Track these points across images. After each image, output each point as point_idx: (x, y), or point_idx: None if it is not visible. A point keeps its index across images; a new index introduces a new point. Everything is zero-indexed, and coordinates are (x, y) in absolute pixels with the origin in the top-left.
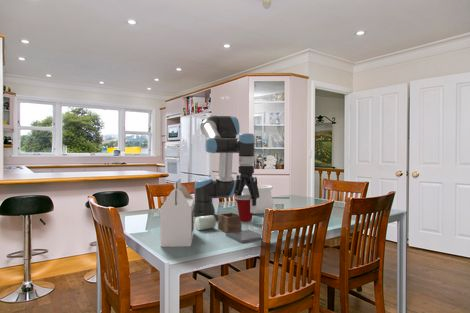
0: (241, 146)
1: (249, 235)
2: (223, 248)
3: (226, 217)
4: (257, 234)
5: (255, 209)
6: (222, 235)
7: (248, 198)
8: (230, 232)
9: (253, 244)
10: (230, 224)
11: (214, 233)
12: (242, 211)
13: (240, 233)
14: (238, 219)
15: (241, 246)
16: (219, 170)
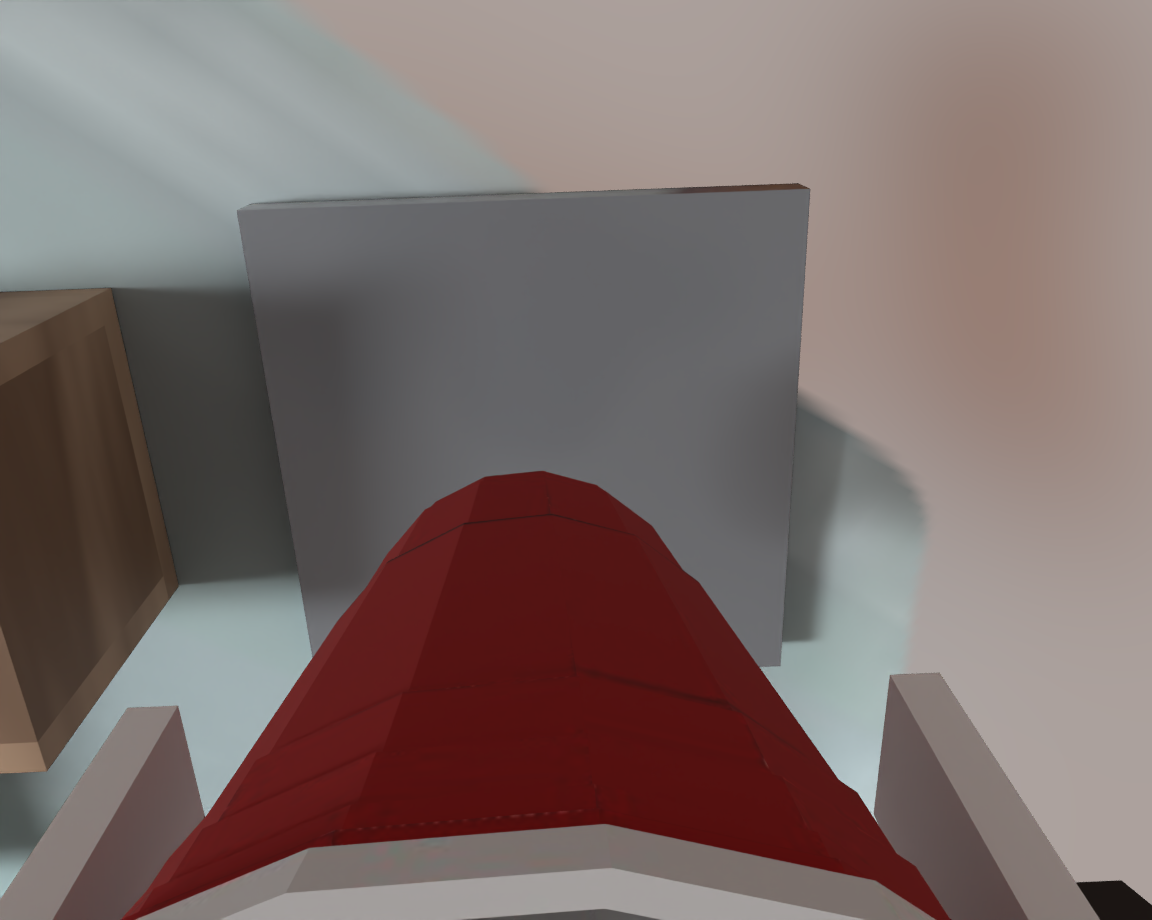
0: None
1: (616, 435)
2: None
3: (21, 768)
4: (636, 272)
5: (974, 740)
6: (281, 693)
7: (197, 869)
8: (164, 523)
9: (919, 542)
10: (102, 598)
11: None
12: (652, 918)
13: (426, 500)
14: (3, 444)
15: (885, 712)
16: None
